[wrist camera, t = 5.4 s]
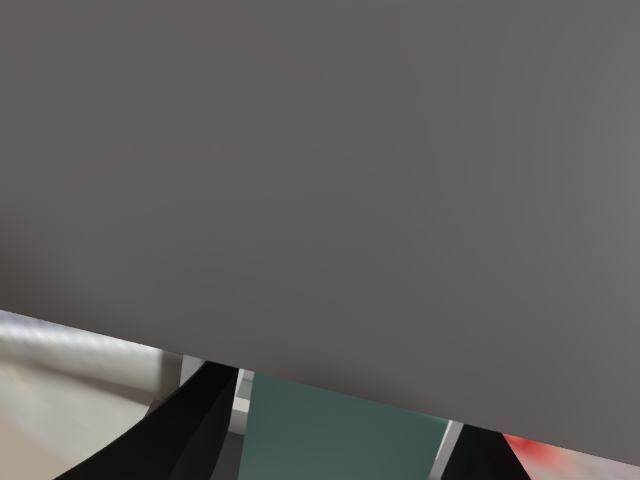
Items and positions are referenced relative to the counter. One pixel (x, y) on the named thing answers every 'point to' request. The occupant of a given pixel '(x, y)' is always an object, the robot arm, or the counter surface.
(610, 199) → the dark grey cuboid box
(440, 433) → the block
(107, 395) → the counter surface
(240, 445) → the tray
